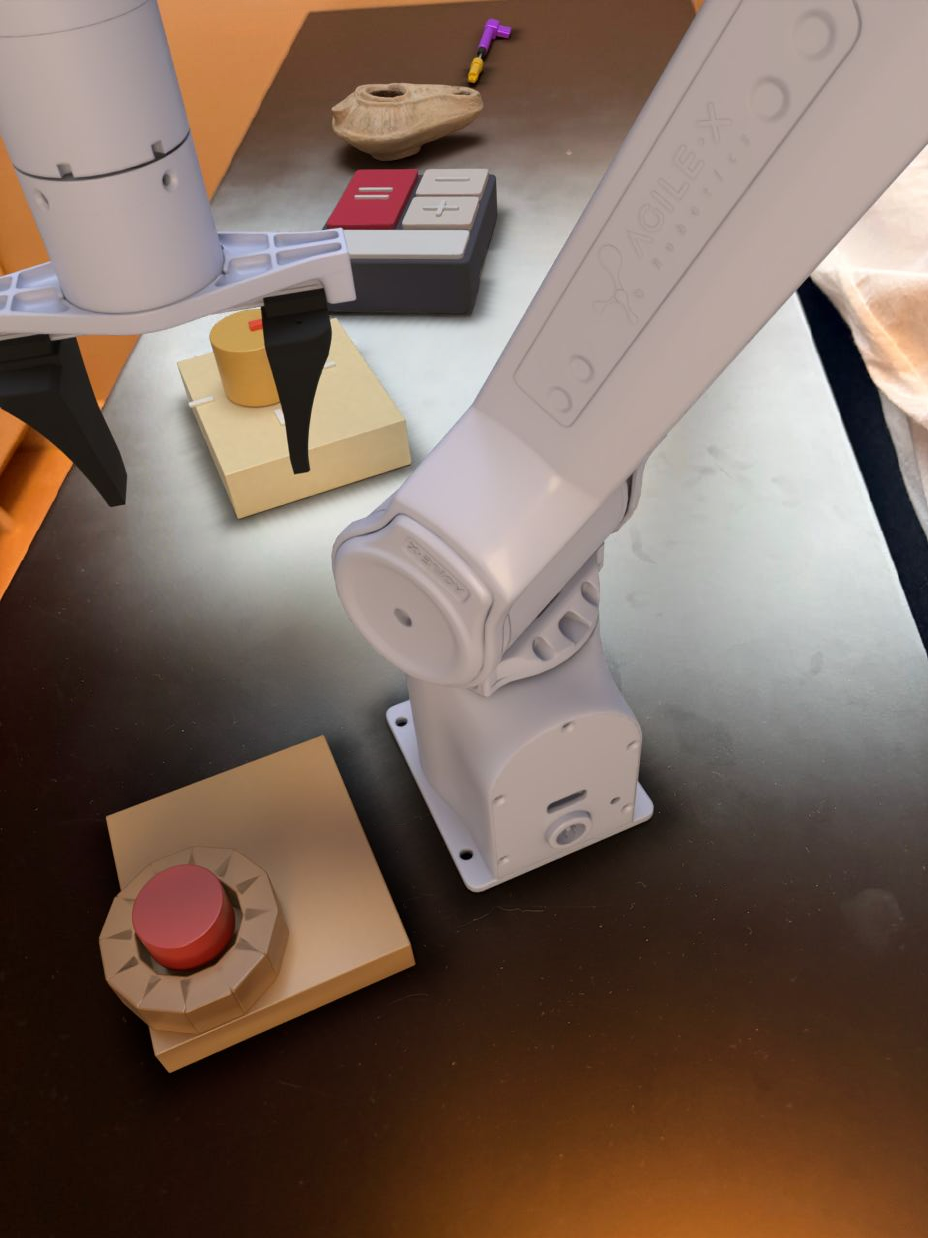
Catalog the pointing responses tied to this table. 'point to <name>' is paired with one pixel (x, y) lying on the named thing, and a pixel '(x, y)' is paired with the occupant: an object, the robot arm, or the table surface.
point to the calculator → (416, 238)
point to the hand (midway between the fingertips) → (210, 475)
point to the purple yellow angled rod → (486, 46)
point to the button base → (254, 902)
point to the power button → (184, 917)
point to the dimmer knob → (243, 359)
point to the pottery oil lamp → (403, 116)
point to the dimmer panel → (338, 434)
